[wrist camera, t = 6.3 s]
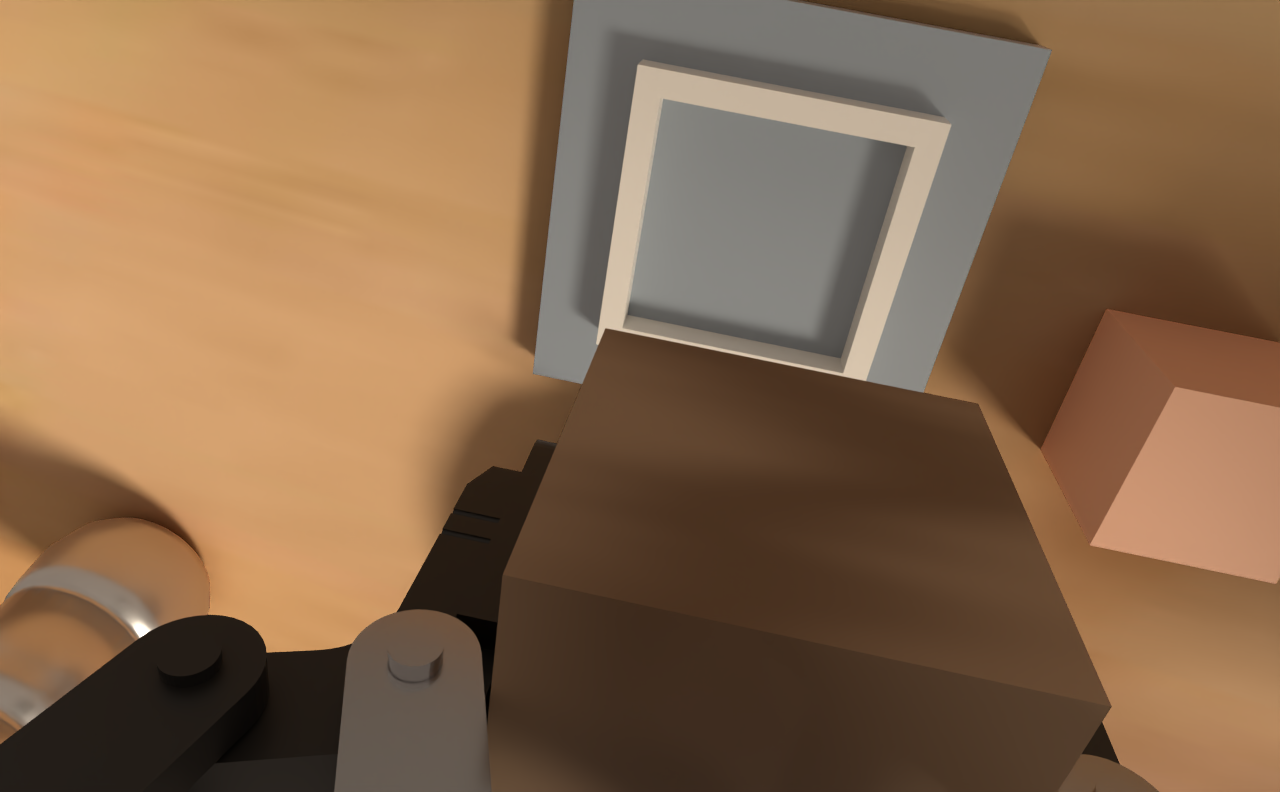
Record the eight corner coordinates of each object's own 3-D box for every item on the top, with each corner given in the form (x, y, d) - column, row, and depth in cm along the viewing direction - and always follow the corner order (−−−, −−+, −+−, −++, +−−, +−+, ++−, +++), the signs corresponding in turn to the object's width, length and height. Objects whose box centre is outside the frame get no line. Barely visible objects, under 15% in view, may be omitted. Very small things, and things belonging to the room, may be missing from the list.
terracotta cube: (1277, 341, 25) (1384, 428, 20) (1195, 479, 27) (1275, 583, 23) (1105, 307, 25) (1175, 386, 21) (1039, 448, 27) (1089, 545, 23)
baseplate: (1040, 45, 22) (1064, 55, 20) (897, 433, 28) (905, 467, 26) (586, -40, 22) (569, -38, 21) (540, 360, 28) (524, 388, 26)
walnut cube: (977, 404, 11) (1112, 706, 7) (868, 670, 14) (915, 1017, 9) (605, 327, 11) (502, 575, 7) (563, 604, 14) (468, 913, 9)
